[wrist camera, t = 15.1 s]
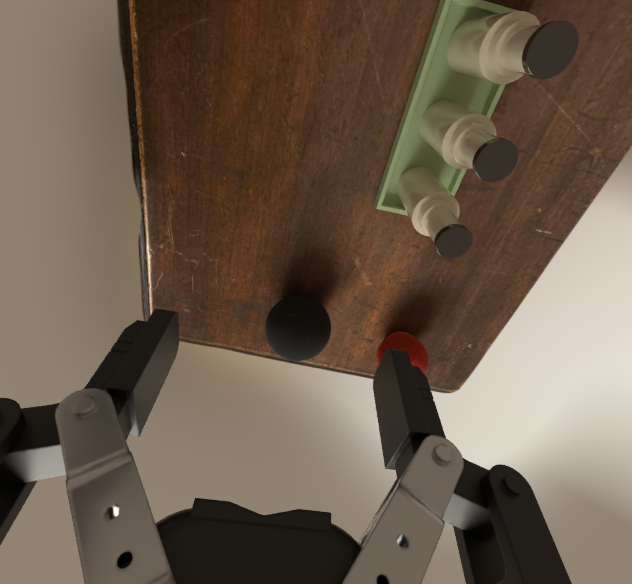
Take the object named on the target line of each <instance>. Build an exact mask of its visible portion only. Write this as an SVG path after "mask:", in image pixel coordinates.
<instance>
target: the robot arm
mask: <svg viewBox="0 0 632 584" xmlns="http://www.w3.org/2000/svg"><path fill="white" fill-rule="evenodd" d="M178 346H179V323H178V313H177V312H173V311H167V310H161V309H155V310H154V311H153V313H152V314H151V316H150V318H149V319H148V321H147V322H145V321H139V320H137V321H136V322H134V323H133V324H131V325H130V326H128V327H127V328H126V329H124V331H123V333H122V334H121V335H120V337H119V338H118V340H117V342H116V343H115V344H114V346H113V347H112V349H111V351H110V352H109V353H108V354H107V356H106V357H105V359H104V361H103V362H102V363H101V365H100V366H99V368H98V369H97V371H96V372H95V374H94V375H93V377H92V378H91V379H90V381H89V382H88V384H87V385H86V387H85V388H84V389H82V390H79V391H76V392H75V393H72V394H70V395H69V396H67V397H66V398H65V399H64V400H63V401H62V402H61V403H57V404H53V405H46V406H38V407H31V408H23V409H21V408H20V406H19V404H18V403H17V402H16V401H14V400H12V399H8V398H0V545H1V543H2V541H3V539H4V538H5V536H6V534H7V533H8V531H9V529H10V527H11V525H12V524H13V522H14V520H15V519H16V517H17V515H18V514H19V512H20V510H21V508H22V507H23V505H24V503H25V501H26V500H27V498H28V496H29V494H30V493H31V491H32V489H33V488H34V486H35V484H36V482H37V480H41V479H47V478H52V477H57V476H62V475H67V479H66V488H67V493H68V498H69V504H70V509H71V514H72V519H73V525H74V530H75V535H76V540H77V545H78V551H79V556H80V561H81V566H82V571H83V577H84V582H85V584H421V583H422V580H423V578H424V575H425V573H426V571H427V568H428V565H429V563H430V561H431V558H432V556H433V553H434V551H435V548H436V546H437V543H438V541H439V539H440V536H441V534H442V531H443V528H444V524H445V522H447V523H450V524H452V525H453V527H454V532H455V536H456V541H457V545H458V550H459V554H460V558H461V563H462V568H463V572H464V577H465V581H466V584H572V583H571V581H570V579H569V576H568V574H567V572H566V569H565V567H564V565H563V562H562V560H561V557H560V555H559V553H558V550H557V548H556V545H555V543H554V541H553V538H552V536H551V534H550V531H549V529H548V526H547V524H546V521H545V519H544V517H543V514H542V512H541V510H540V507H539V505H538V502H537V500H536V498H535V495H534V493H533V491H532V489H531V486H530V485H529V483H528V482H527V481H526V479H525V478H524V477H523V476H522V475H521V474H520V473H519V472H517V471H516V470H514V469H513V468H511V467H509V466H505V465H495V466H493V467H492V468H491V469H490V470H487V469H485V468H483V467H480V466H478V465H476V464H474V463H471V462H469V461H467V460H465V459H464V458H462V455H461V453H460V452H459V450H458V449H457V448H456V446H454V444H453V443H451V442H450V441H449V440H447V439H446V437H445V434H444V431H443V428H442V425H441V422H440V418H439V415H438V412H437V409H436V406H435V402H434V401H433V396H432V393H431V391H430V386H429V383H428V380H427V377H426V376H425V374H424V373H423V372H422V370H421V369H420V368H419V366H414V365H412V363H411V360H410V356H409V353H408V352H407V351H404V350H398V349H392V348H387V349H386V351H385V353H384V355H383V357H382V360H381V362H380V364H379V366H378V368H377V370H376V373H375V376H374V381H373V390H374V397H375V404H376V410H377V417H378V423H379V430H380V436H381V443H382V450H383V457H384V463H385V468H386V469H393V470H396V474H397V479H396V481H395V482H394V484H393V485H392V487H391V489H390V491H389V492H388V494H387V495H386V497H385V499H384V501H383V502H382V504H381V506H380V507H379V509H378V511H377V512H376V514H375V516H374V517H373V519H372V521H371V522H370V524H369V526H368V527H367V529H366V531H365V532H364V533H363V535H362V537H361V538H360V540H359V541H358V543H357V542H356V541H355V540H354V539H353V538H352V537H351V536H350V535H349V534H348V533H347V532H345V531H344V530H343V529H341V528H339V527H338V526H336V525H334V524H332V523H331V513H328V512H320V511H311V510H301V509H297V510H292V511H287V512H281V513H275V514H270V515H261V514H258V513H256V512H253V511H251V510H248V509H246V508H243V507H241V506H239V505H236V504H234V503H231V502H228V501H218V500H209V499H200V498H195V500H194V504H193V508H190V509H186V510H182V511H179V512H176V513H174V514H172V515H169V516H167V517H165V518H164V519H162V520H160V521H159V522H157V523H156V524H155V521H154V518H153V515H152V512H151V509H150V506H149V503H148V500H147V497H146V494H145V491H144V488H143V485H142V482H141V479H140V476H139V473H138V470H137V467H136V464H135V461H134V458H133V456H132V453H131V452H130V451H129V448H128V446H127V442H126V439H127V437H128V435H130V436H138V437H139V436H140V434H141V431H142V429H143V427H144V425H145V423H146V421H147V419H148V416H149V414H150V412H151V410H152V408H153V405H154V403H155V401H156V399H157V397H158V395H159V392H160V390H161V388H162V386H163V384H164V381H165V379H166V377H167V375H168V373H169V370H170V368H171V366H172V364H173V362H174V359H175V357H176V354H177V351H178ZM444 521H445V522H444Z"/></svg>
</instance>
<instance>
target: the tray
mask: <svg viewBox="0 0 632 584" xmlns="http://www.w3.org/2000/svg"><path fill="white" fill-rule="evenodd" d="M516 11H517V10H514V9H511V8H507V7H504V6H501V5H497V4H494V3H491V2H487V1H484V0H440V3H439V6H438V9H437V12H436V15H435V18H434V21H433V24H432V27H431V30H430V33H429V36H428V40H427V43H426V46H425V49H424V52H423V55H422V58H421V61H420V64H419V67H418V70H417V73H416V76H415V79H414V82H413V85H412V88H411V92H410V95H409V98H408V101H407V104H406V107H405V110H404V113H403V116H402V119H401V122H400V125H399V128H398V131H397V134H396V137H395V140H394V144H393V147H392V150H391V153H390V156H389V159H388V162H387V165H386V168H385V171H384V174H383V177H382V180H381V183H380V186H379V189H378V193H377V196H376V199H375V202H374V203H375V207H376V209H380V210H385V211H389V212H394V213H399V214H403V215H408V214H407V212H406V210H405V208H404V206H403V204H402V202H401V200H400V198H399V196H398V193H397V183H398V181H399V179H400V177H401V176H402V174H403V173H404V172H405V171H407V170H408V169H410V168H413V167H417V166H422V167H426V168H428V169H430V170H431V171H432V172H433V173H434V174H435V176H436V177H437V178H438V179H439V180H440V181H441V183H442V184H443V185H444V186H445V187H446V188H447V190H448V191H449V192H450V193H451V194H452V195H453V197H454V196H455V193H456V191H457V189H458V187H459V185H460V183H461V180H462V178H463V176H464V174H465V172H466V170H467V169H456V168H453V167H451V166H450V165H449V164H448V163H447V162H446V161H445V160H443V159H442V158H441V157H440V156H439V155H438V154H437V153H436V152H435V151H434V150H433V149H432V148H431V147H430V146H429V145H428V144H427V143H426V142H425V141H424V140H423V139H422V137H421V134H420V122H421V119H422V116H423V114H424V113H425V111H426V110H427V109H428V108H429V107H430V106H431V105H432V104H434V103H436V102H438V101H441V100H451V101H453V102H456V103H458V104H460V105H462V106H465V107H467V108H469V109H471V110H473V111H476V112H478V113H480V114H482V115H484V116H486V117H488V118H489V119H490V117H491V115H492V113H493V111H494V109H495V107H496V104H497V102H498V100H499V98H500V96H501V93H502V91H503V89H504V87H505V85H506V84H495V83H491V82H487V81H483V80H479V79H474V78H470V77H466V76H462V75H459V74H457V73H455V72H454V71H453V70H452V69H451V68H450V66H449V64H448V61H447V47H448V43H449V40H450V38H451V36H452V34H453V33H454V31H455V30H456V29H457V28H458V27H459V26H460V25H461V24H462V23H463V22H465V21H467V20H469V19H472V18H477V17H484V16H490V15H496V14H503V13H509V12H516ZM535 17H537V16H535Z"/></svg>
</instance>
